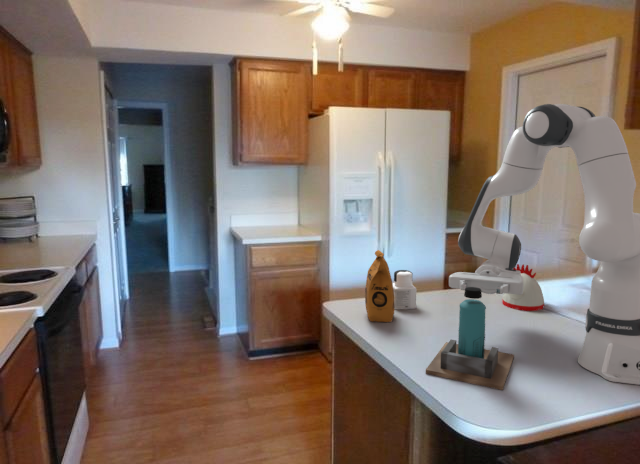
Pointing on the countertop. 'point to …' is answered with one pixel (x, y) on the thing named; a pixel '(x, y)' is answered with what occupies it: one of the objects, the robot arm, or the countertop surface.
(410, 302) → the container
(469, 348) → the beverage bottle
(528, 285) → the kitchen timer
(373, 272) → the coffee package
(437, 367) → the bottle dock
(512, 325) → the countertop surface
